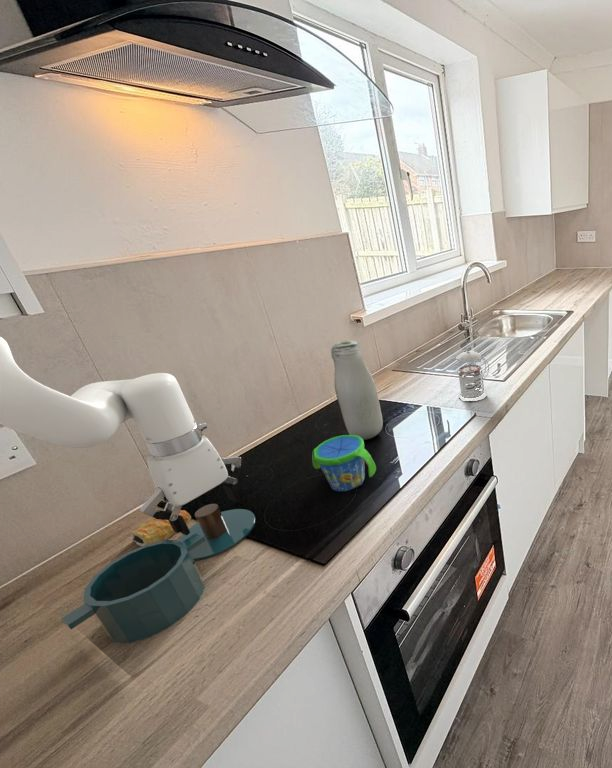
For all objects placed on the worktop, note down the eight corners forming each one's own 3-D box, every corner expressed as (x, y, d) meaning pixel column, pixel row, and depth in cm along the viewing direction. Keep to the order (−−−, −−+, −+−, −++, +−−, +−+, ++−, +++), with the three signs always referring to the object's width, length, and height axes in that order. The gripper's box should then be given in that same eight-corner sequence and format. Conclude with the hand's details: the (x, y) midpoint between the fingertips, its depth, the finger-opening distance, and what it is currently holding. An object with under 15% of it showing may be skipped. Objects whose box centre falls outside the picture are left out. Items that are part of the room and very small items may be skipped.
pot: (72, 641, 63) (43, 602, 60) (196, 556, 78) (179, 521, 75) (110, 676, 58) (81, 635, 55) (236, 578, 73) (219, 541, 69)
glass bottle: (373, 424, 122) (352, 333, 111) (392, 434, 116) (372, 339, 105) (342, 438, 116) (316, 343, 105) (360, 450, 109) (335, 350, 98)
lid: (162, 550, 80) (148, 523, 78) (231, 506, 91) (221, 482, 89) (201, 572, 74) (187, 544, 72) (271, 523, 85) (261, 497, 83)
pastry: (180, 514, 90) (173, 500, 88) (200, 521, 88) (193, 506, 86) (130, 545, 82) (122, 530, 81) (151, 553, 80) (142, 538, 78)
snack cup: (390, 476, 98) (382, 439, 94) (359, 504, 89) (348, 465, 85) (340, 465, 104) (330, 429, 100) (306, 490, 95) (294, 452, 91)
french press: (452, 395, 138) (442, 322, 128) (481, 385, 144) (474, 315, 134) (468, 405, 130) (458, 328, 120) (498, 394, 136) (491, 320, 126)
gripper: (213, 416, 83) (242, 485, 90) (106, 463, 69) (150, 541, 76) (235, 421, 79) (264, 493, 86) (128, 472, 65) (172, 553, 72)
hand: (211, 515), depth 81 cm, fingers open, 9 cm apart
